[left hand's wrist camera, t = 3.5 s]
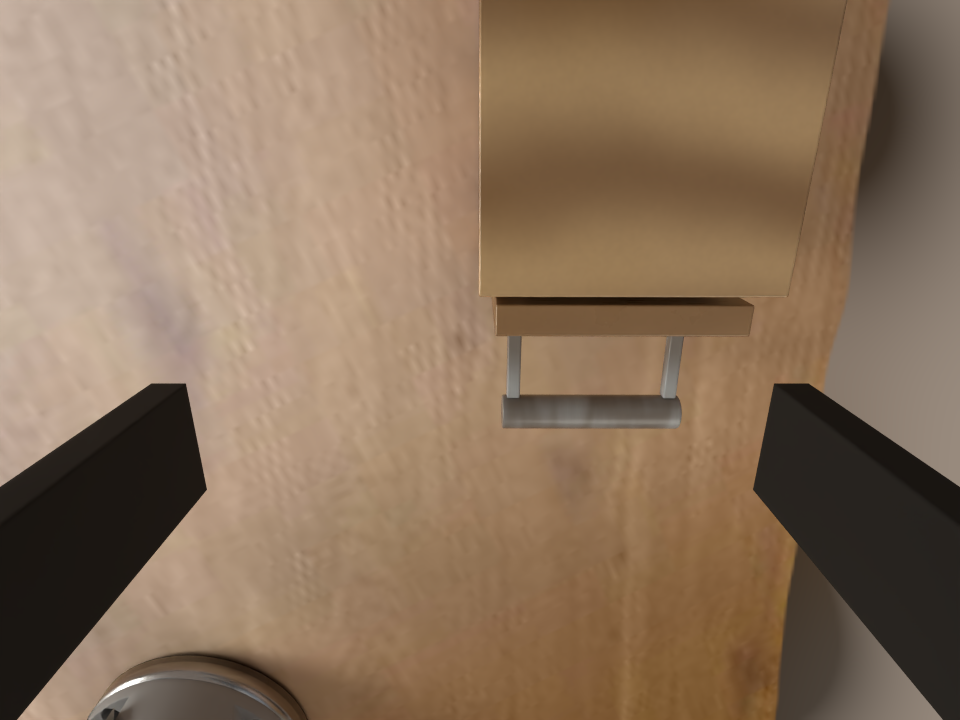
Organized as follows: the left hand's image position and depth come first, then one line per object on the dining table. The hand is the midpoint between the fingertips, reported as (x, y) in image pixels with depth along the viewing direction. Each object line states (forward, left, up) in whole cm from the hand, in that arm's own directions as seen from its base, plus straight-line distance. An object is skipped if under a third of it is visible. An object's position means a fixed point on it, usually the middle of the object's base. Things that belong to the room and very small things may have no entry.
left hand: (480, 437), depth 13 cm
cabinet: (+11, -4, -17) cm, 21 cm away
